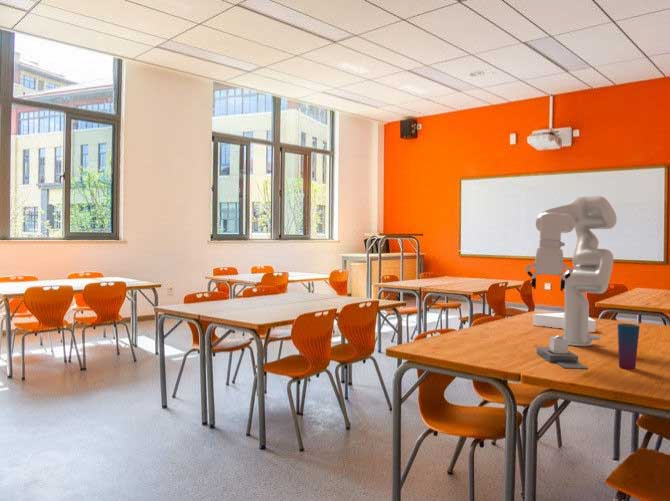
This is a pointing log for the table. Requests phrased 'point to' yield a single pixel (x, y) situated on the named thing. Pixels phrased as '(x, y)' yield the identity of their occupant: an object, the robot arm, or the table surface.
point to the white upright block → (558, 345)
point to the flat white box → (557, 321)
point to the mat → (571, 365)
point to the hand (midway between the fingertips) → (547, 289)
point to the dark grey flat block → (556, 356)
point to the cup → (627, 345)
